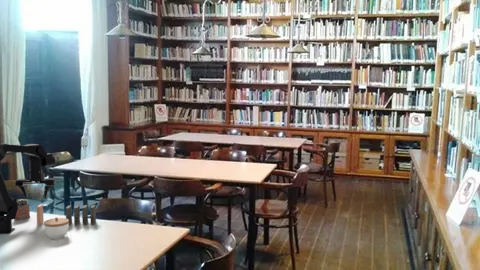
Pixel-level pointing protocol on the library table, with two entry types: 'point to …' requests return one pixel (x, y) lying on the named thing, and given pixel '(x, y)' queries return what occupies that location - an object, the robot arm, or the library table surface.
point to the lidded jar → (56, 227)
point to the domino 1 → (39, 214)
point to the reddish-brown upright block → (22, 210)
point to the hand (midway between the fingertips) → (36, 198)
